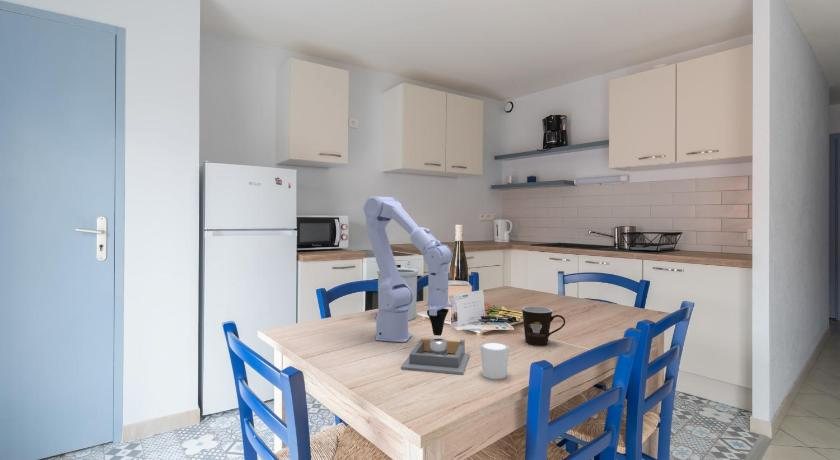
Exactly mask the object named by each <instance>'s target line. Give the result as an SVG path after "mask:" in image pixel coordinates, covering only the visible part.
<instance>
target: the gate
mask: <svg viewBox="0 0 840 460" xmlns="http://www.w3.org/2000/svg"><path fill="white" fill-rule="evenodd" d="M432 339H433V338H423V337H422V338H420V341H421V342H424V352H429V353H430V340H432ZM445 340H446V341H447V354H454V355H455V354H456V351H457V349H458V347H459V345H460V344H462V345H464V353H465V345H466V343H465V339H460V340H453V339H445ZM465 354H466V353H465Z"/></svg>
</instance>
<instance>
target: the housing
mask: <svg viewBox="0 0 840 460" xmlns="http://www.w3.org/2000/svg"><path fill="white" fill-rule="evenodd" d="M470 356H471V355H470V353H464V345H462V344H460V345H459V347H458V349H457V351H456V354H454V355H447V356H445V355H432V354H430V353H425V351H424V342H421V340H420V341H418V342H417V344H416V345H415V346H414V347H413V349H412V350H411V352H410V353H409V356H408V357H407V358H406V360H405V361H404V362H403V363H402V365H401V366H400V369H401V370H405V371H417V372H426V373H427V372H429V373H437V374H451V375H464V373H465V370H466V367H467V364H468V361H469V359H470Z"/></svg>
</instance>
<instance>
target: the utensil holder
mask: <svg viewBox="0 0 840 460" xmlns="http://www.w3.org/2000/svg"><path fill="white" fill-rule="evenodd" d="M397 269H398V272H399V275H400V277H402V278H403V279H404V280H406V282H407V285H408V287H409V288H410V289H411V290H412V293H413V301H412V303H411V304H410V305H409V308H408V321H412V320H414V319H415V318H416V315H417V314H416V313H417V297H418V295H417V294H418V293H417V292H418V290H417V289H418V287H417V286H418V274H419V270H418V269H415V268H410V267H409V268H406V267H397ZM376 271H377V272H376V273H377V281H378V282H377V297H378V298H377V300H378V301H377V305H378V306H377V308H378V309H377V311H378V310H379V309H383V307H382V306H381V304H380V293H379V287H380V285H381V283H382V278H381V274H380V271H379V268H378V269H377V270H376ZM392 289H393V288H392Z"/></svg>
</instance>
